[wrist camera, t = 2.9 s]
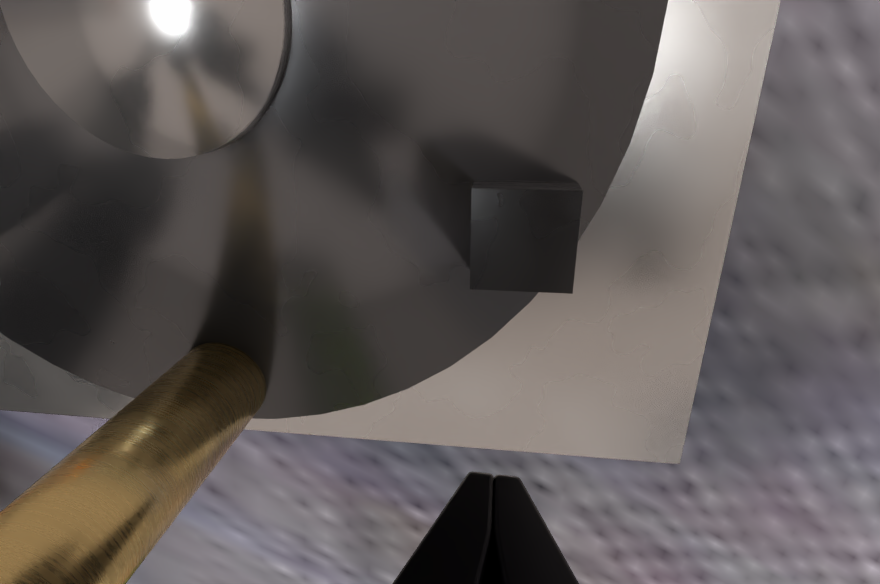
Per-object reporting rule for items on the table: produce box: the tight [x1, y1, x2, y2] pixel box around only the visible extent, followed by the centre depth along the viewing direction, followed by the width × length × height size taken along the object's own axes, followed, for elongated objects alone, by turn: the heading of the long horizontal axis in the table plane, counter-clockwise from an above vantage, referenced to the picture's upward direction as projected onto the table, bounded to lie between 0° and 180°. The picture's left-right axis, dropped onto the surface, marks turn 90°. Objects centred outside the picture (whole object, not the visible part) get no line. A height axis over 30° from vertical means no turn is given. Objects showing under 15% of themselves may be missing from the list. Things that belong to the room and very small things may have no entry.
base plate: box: [0, 0, 781, 464], centre depth 11 cm, size 23×23×4 cm
